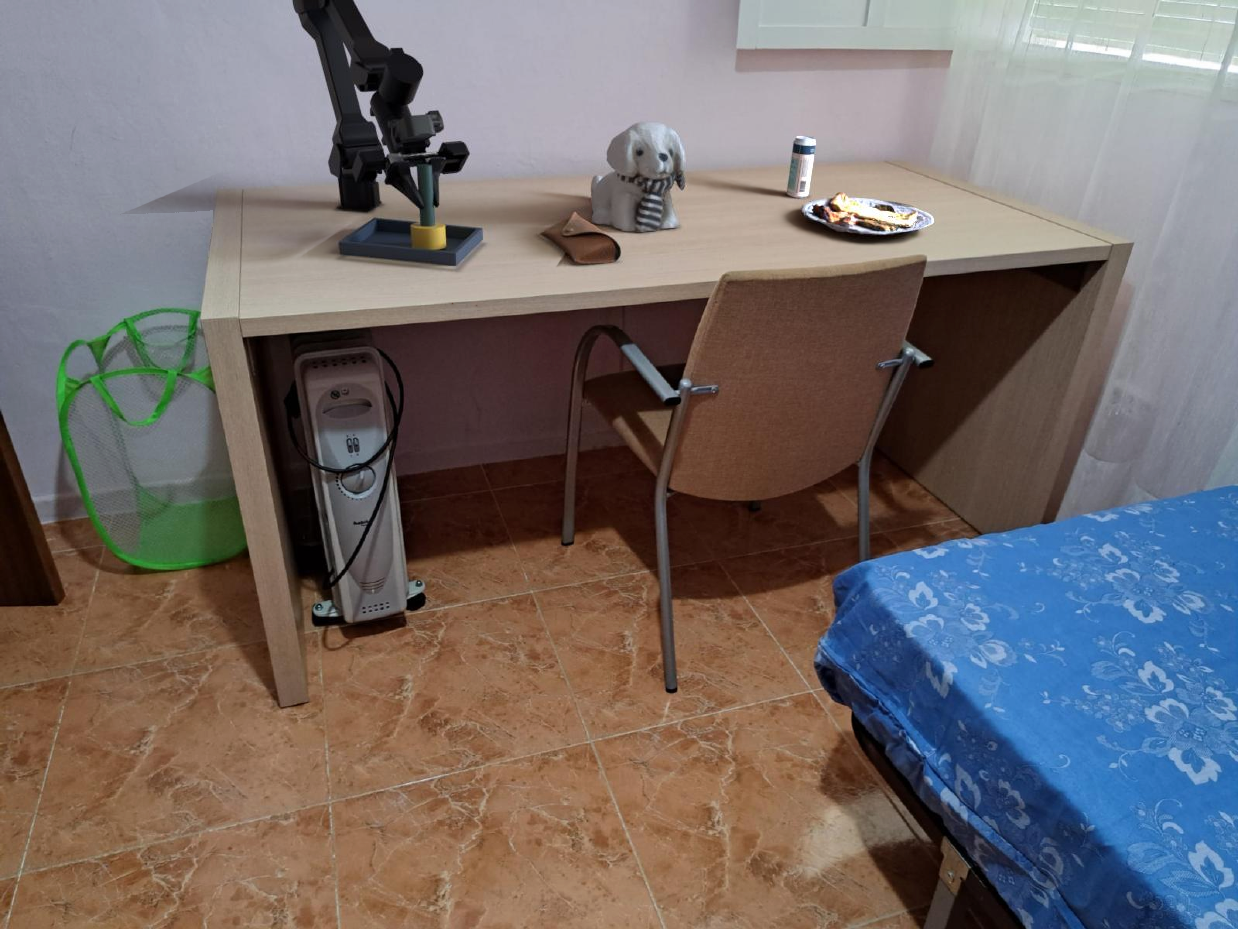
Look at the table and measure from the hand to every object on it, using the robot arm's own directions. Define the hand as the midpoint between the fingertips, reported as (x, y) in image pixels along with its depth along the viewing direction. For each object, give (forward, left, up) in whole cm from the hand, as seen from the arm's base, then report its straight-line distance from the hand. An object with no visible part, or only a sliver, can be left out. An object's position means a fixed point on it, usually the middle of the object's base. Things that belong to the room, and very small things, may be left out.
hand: (430, 207), depth 147 cm
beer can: (+61, +60, -8) cm, 86 cm away
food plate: (+74, +42, -8) cm, 85 cm away
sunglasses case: (+23, +10, -8) cm, 26 cm away
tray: (-3, 0, -8) cm, 8 cm away
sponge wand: (-1, 0, -7) cm, 7 cm away
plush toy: (+29, +34, -8) cm, 45 cm away
